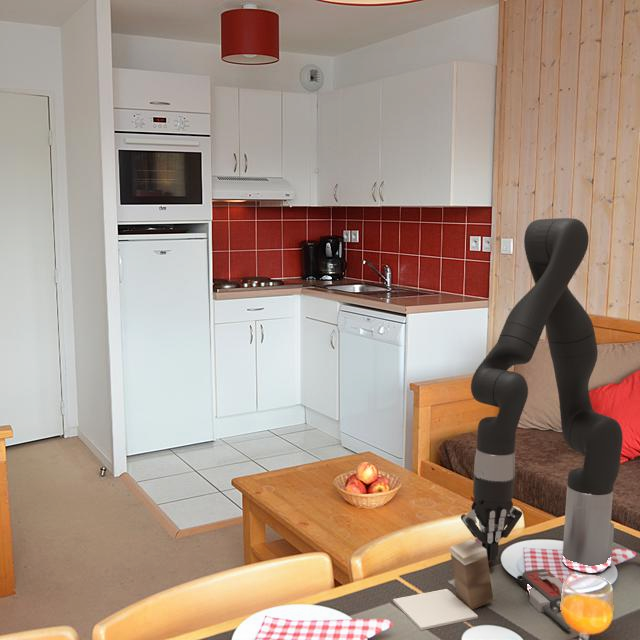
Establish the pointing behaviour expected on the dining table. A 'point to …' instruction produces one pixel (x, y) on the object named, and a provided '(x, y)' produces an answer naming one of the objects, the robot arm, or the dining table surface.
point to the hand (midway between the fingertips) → (489, 558)
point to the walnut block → (471, 574)
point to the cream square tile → (434, 609)
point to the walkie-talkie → (544, 592)
